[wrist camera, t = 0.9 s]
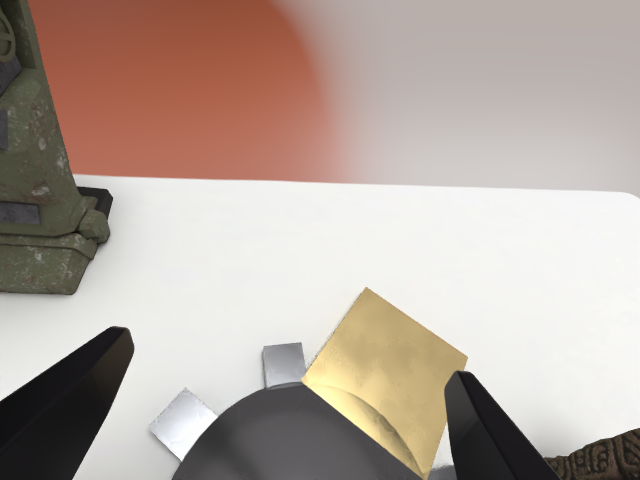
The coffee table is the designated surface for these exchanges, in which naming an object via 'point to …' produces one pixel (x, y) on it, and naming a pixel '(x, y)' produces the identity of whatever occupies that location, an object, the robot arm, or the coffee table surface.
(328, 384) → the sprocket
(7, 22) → the mechanical leg
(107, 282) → the coffee table surface
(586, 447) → the statue
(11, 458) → the robot arm
